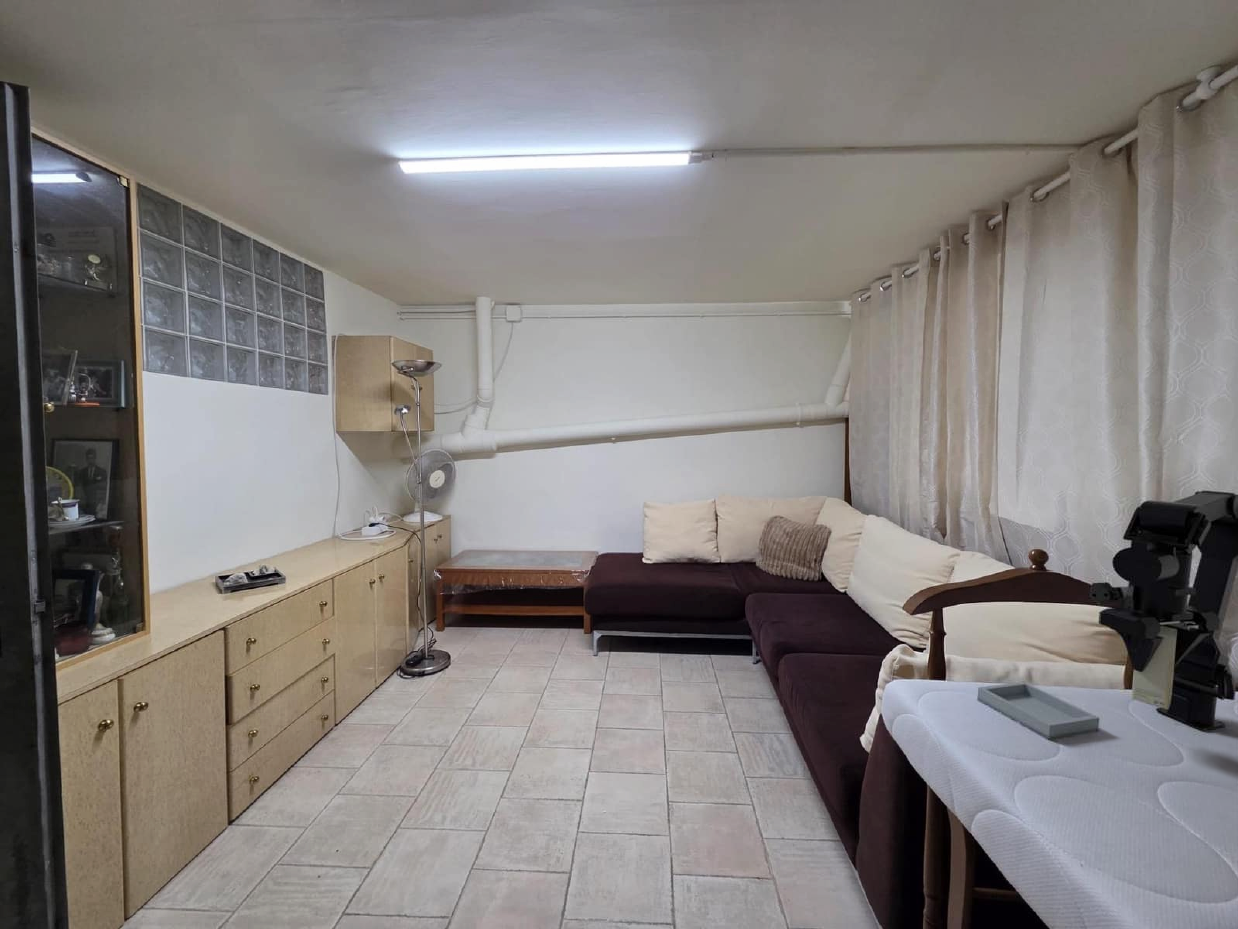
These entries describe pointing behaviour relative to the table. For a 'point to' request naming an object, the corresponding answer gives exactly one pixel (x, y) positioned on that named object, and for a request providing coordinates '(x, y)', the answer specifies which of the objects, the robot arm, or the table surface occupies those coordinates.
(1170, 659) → the skincare box
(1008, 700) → the sorting tray
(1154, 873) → the table surface
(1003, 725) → the table surface
